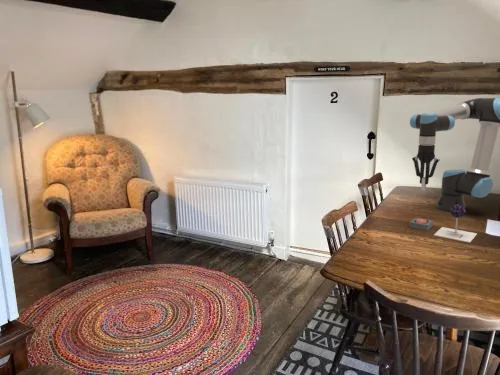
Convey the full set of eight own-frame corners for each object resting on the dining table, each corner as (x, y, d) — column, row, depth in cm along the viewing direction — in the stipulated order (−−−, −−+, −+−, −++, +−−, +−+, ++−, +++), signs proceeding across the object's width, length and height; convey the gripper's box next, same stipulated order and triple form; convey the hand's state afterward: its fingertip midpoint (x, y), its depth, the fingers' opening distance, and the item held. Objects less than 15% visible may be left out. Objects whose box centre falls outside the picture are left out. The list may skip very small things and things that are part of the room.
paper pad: (442, 227, 206) (442, 226, 206) (476, 234, 196) (477, 233, 196) (433, 235, 196) (433, 234, 196) (470, 242, 186) (470, 241, 186)
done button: (417, 223, 211) (418, 217, 211) (427, 225, 208) (428, 219, 207) (414, 225, 208) (414, 220, 207) (424, 227, 204) (424, 222, 204)
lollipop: (465, 236, 192) (468, 206, 188) (449, 236, 193) (452, 206, 190) (461, 232, 198) (464, 202, 195) (446, 231, 200) (448, 202, 196)
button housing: (415, 222, 214) (415, 217, 214) (432, 226, 209) (433, 220, 208) (409, 227, 208) (409, 221, 207) (427, 231, 202) (427, 225, 201)
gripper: (410, 144, 201) (408, 190, 207) (438, 146, 193) (434, 193, 199) (415, 142, 207) (412, 186, 213) (442, 144, 199) (439, 190, 205)
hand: (423, 190), depth 206 cm, fingers closed
